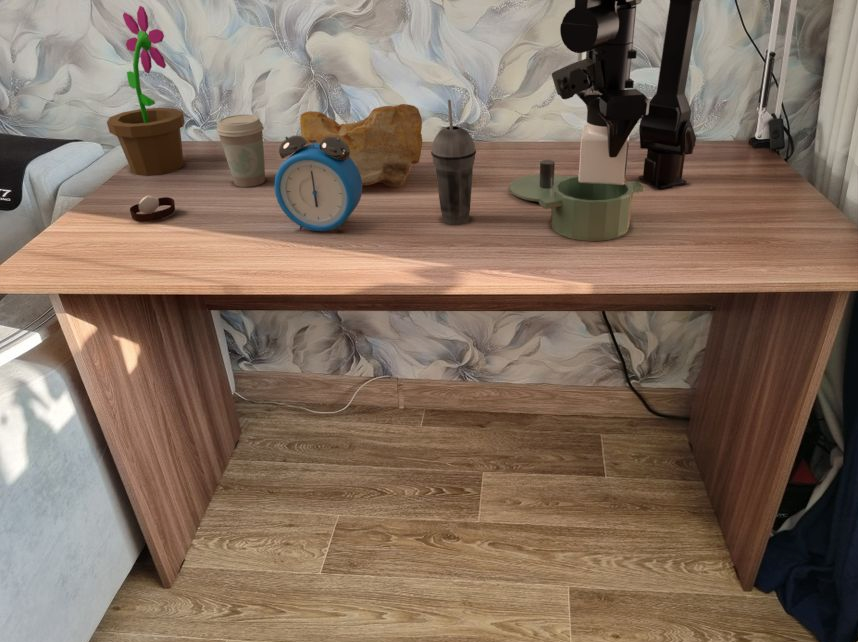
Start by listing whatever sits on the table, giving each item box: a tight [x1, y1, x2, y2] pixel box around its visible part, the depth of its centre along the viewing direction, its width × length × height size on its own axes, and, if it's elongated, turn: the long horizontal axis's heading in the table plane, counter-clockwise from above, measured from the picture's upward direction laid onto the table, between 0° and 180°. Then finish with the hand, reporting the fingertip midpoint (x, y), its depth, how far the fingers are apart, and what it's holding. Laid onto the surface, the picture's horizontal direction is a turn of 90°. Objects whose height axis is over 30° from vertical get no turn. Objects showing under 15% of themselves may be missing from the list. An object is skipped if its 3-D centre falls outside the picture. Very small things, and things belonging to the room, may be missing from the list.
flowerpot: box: [106, 5, 186, 176], centre depth 143 cm, size 14×14×30 cm
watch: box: [129, 194, 176, 223], centre depth 126 cm, size 8×5×4 cm, turn 135°
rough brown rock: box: [299, 103, 423, 188], centre depth 138 cm, size 23×17×15 cm
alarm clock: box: [274, 135, 363, 233], centre depth 118 cm, size 13×6×15 cm, turn 81°
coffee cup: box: [216, 113, 266, 188], centre depth 139 cm, size 8×8×12 cm
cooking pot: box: [538, 174, 644, 242], centre depth 118 cm, size 13×18×6 cm
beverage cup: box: [430, 99, 477, 226], centre depth 118 cm, size 7×7×20 cm
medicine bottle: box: [578, 97, 630, 185], centre depth 113 cm, size 7×7×12 cm
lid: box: [508, 159, 569, 203], centre depth 132 cm, size 14×14×6 cm
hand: (604, 148), depth 114 cm, fingers closed on medicine bottle, 8 cm apart
